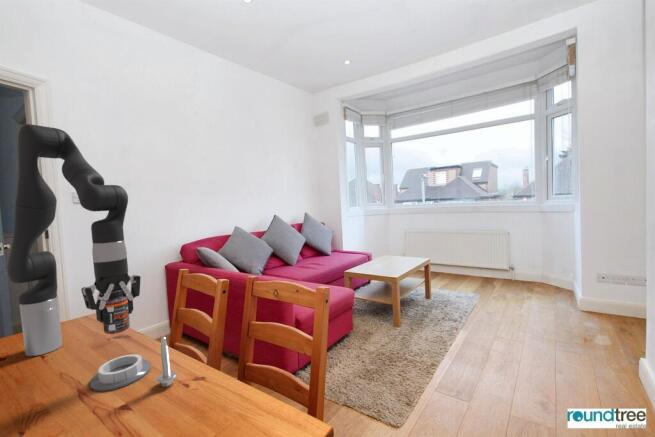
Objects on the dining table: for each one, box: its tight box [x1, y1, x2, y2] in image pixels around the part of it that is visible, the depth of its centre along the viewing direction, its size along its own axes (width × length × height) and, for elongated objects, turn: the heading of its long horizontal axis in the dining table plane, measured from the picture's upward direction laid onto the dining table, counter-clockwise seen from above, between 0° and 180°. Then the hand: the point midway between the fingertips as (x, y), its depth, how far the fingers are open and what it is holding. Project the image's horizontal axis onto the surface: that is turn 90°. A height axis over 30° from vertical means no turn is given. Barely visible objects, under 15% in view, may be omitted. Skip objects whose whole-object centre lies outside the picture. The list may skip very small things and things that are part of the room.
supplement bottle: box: [102, 290, 131, 335], centre depth 84 cm, size 6×6×11 cm
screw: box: [155, 336, 178, 388], centre depth 79 cm, size 13×5×5 cm
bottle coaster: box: [89, 354, 152, 392], centre depth 85 cm, size 14×14×3 cm
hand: (116, 317), depth 84 cm, fingers closed on supplement bottle, 6 cm apart
